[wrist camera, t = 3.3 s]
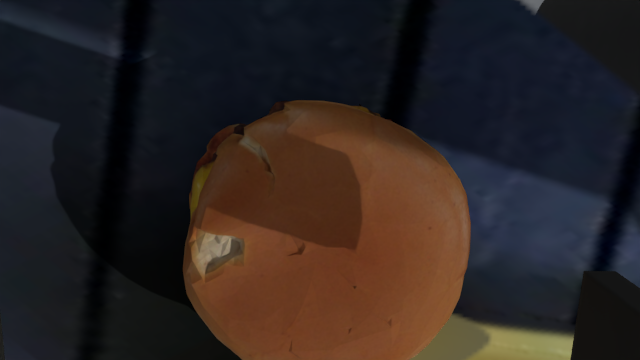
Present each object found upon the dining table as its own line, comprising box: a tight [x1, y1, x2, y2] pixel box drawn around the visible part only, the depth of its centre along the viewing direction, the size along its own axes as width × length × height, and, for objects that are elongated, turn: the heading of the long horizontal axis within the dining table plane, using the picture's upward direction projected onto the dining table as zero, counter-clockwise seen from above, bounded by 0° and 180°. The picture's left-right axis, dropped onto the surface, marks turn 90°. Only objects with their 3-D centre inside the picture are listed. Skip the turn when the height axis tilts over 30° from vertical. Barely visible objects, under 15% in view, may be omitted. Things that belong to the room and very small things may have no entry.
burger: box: [183, 100, 471, 360], centre depth 20 cm, size 10×9×5 cm
